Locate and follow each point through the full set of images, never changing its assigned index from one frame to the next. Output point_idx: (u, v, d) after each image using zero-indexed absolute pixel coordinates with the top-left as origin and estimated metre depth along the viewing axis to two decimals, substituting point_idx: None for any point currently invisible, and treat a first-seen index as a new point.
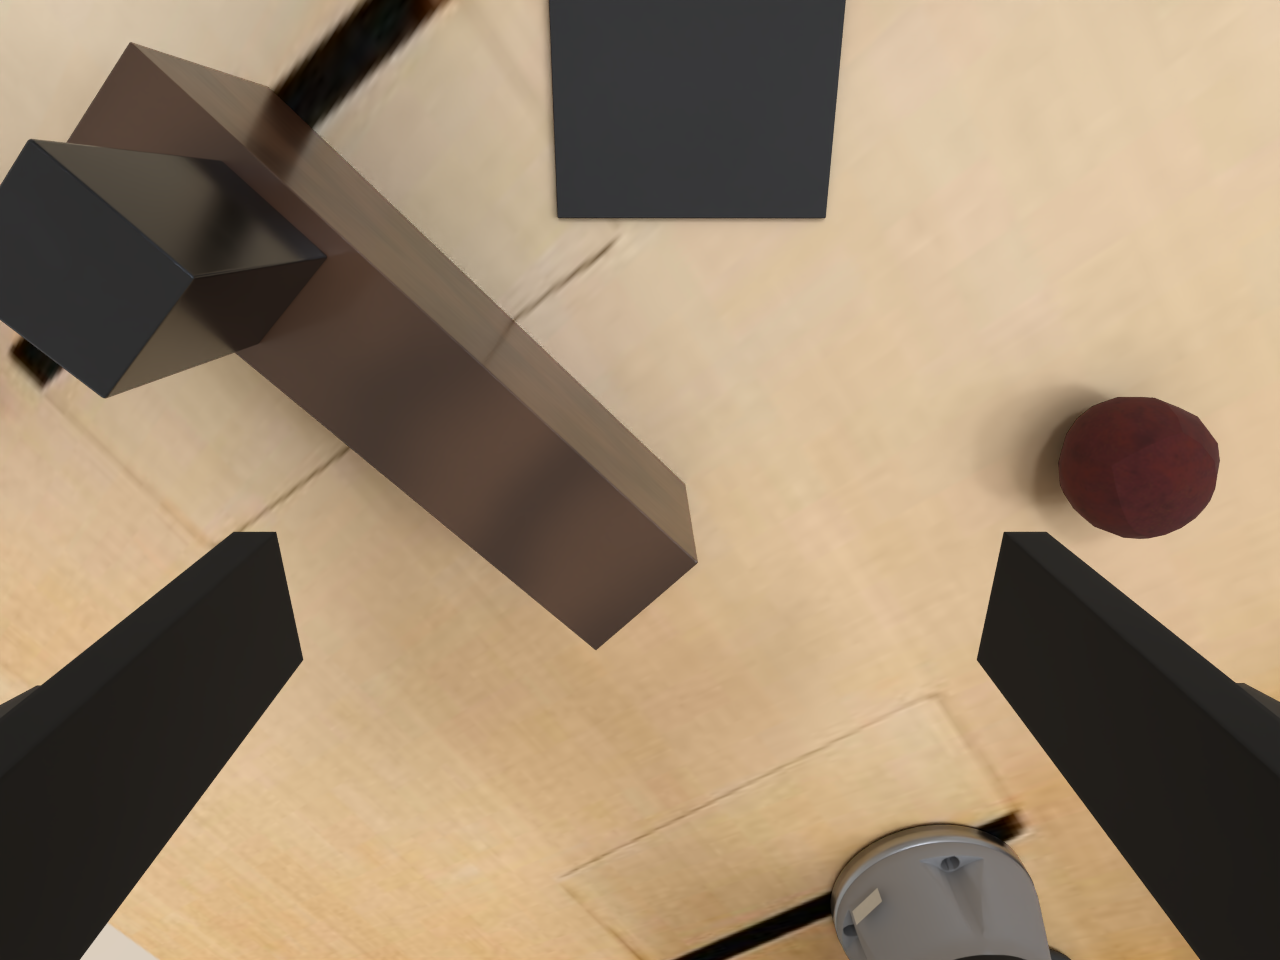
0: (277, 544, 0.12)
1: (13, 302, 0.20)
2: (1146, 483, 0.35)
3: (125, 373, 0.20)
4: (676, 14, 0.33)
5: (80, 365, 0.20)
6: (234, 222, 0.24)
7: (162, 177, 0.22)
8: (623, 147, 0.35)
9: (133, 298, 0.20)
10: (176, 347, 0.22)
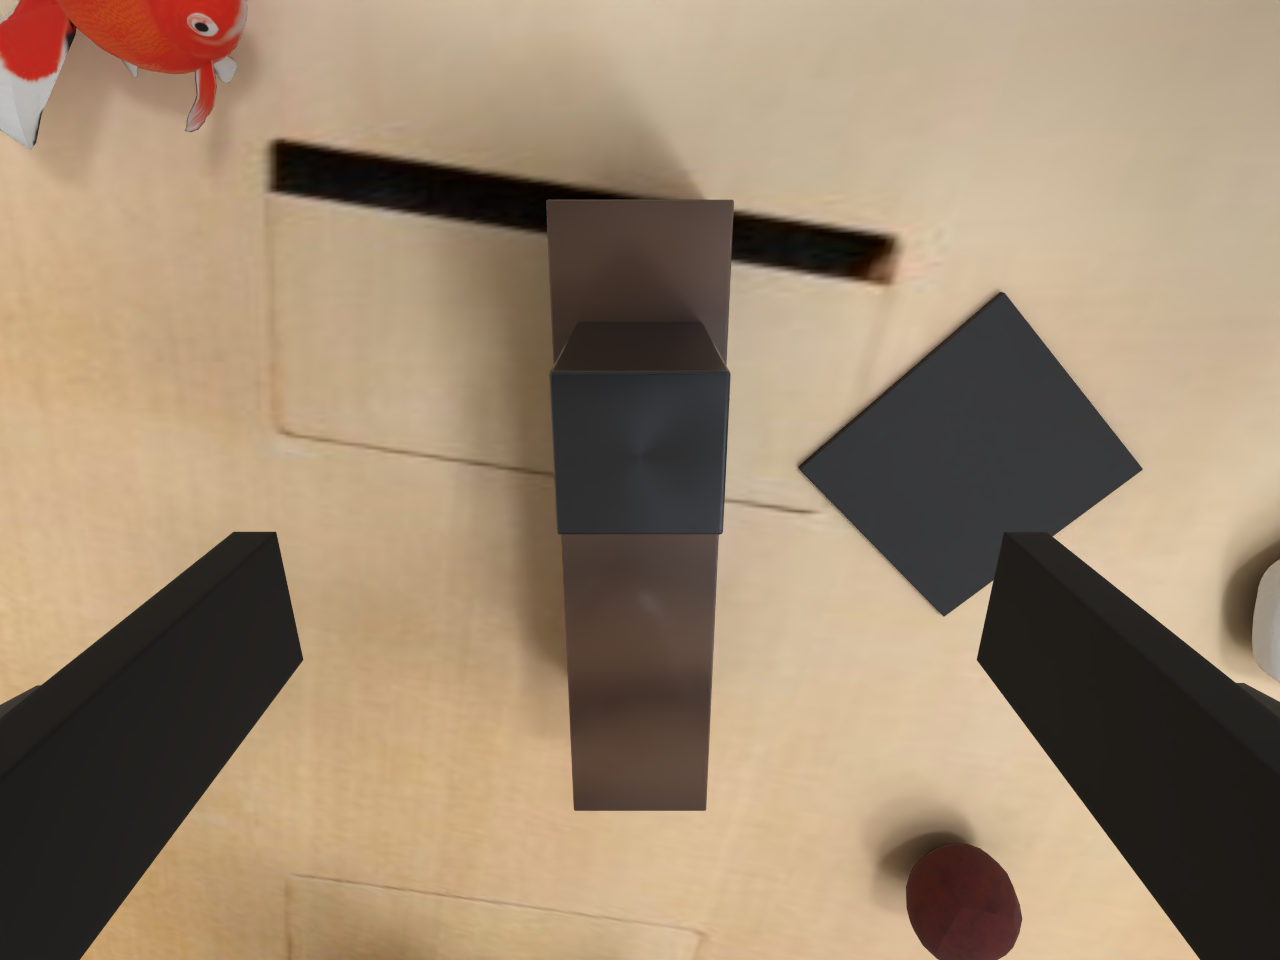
0: (277, 544, 0.12)
1: (579, 432, 0.20)
2: (971, 935, 0.45)
3: (593, 533, 0.21)
4: (991, 434, 0.39)
5: (571, 504, 0.21)
6: None
7: None
8: (883, 471, 0.40)
9: (666, 508, 0.21)
10: None
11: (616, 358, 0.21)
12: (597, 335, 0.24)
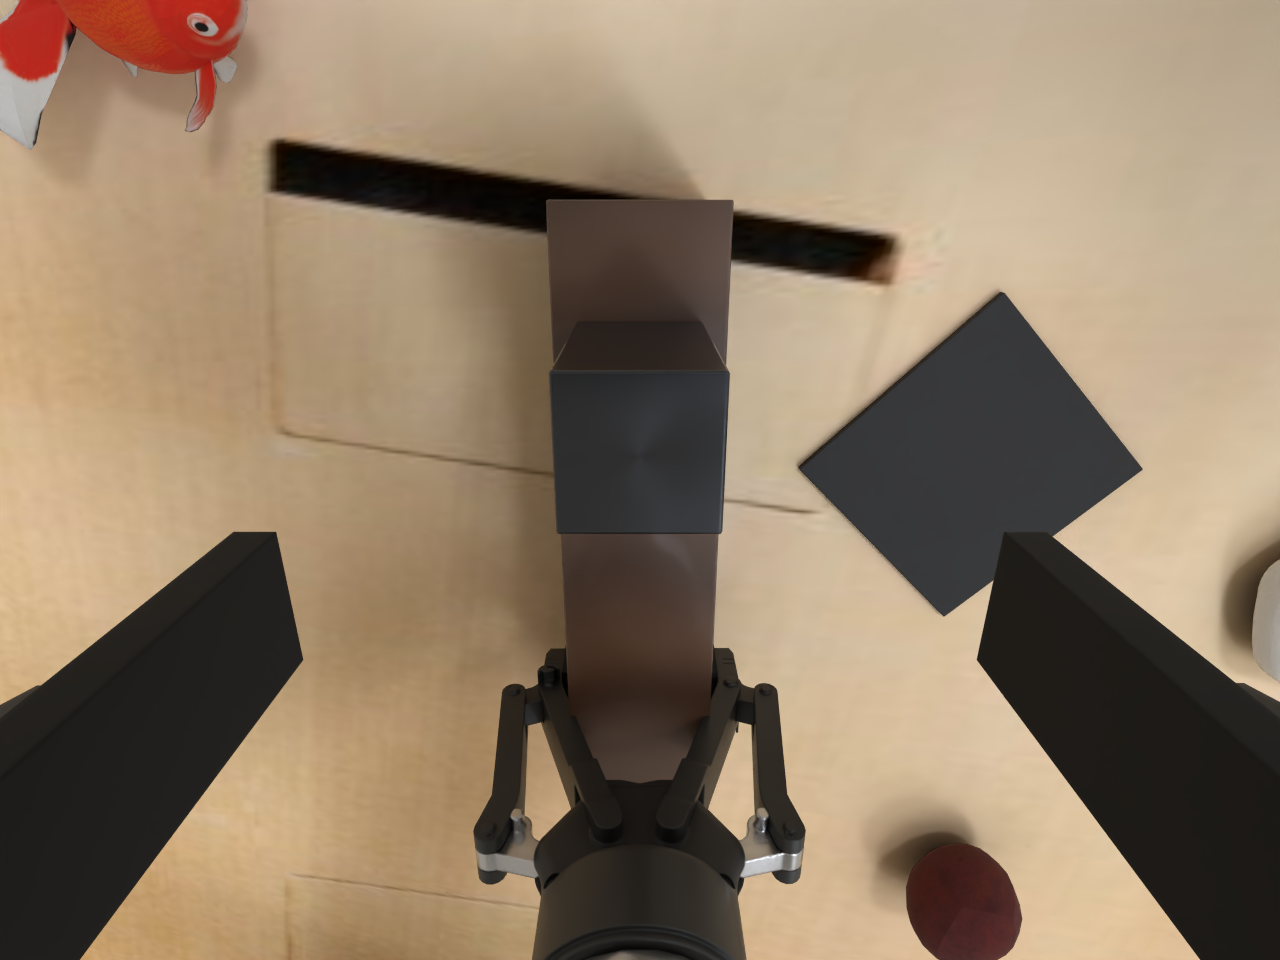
0: (277, 544, 0.12)
1: (578, 431, 0.20)
2: (971, 935, 0.45)
3: (593, 533, 0.21)
4: (991, 434, 0.39)
5: (570, 504, 0.21)
6: None
7: None
8: (883, 471, 0.40)
9: (666, 507, 0.21)
10: None
11: (616, 357, 0.21)
12: (597, 335, 0.25)
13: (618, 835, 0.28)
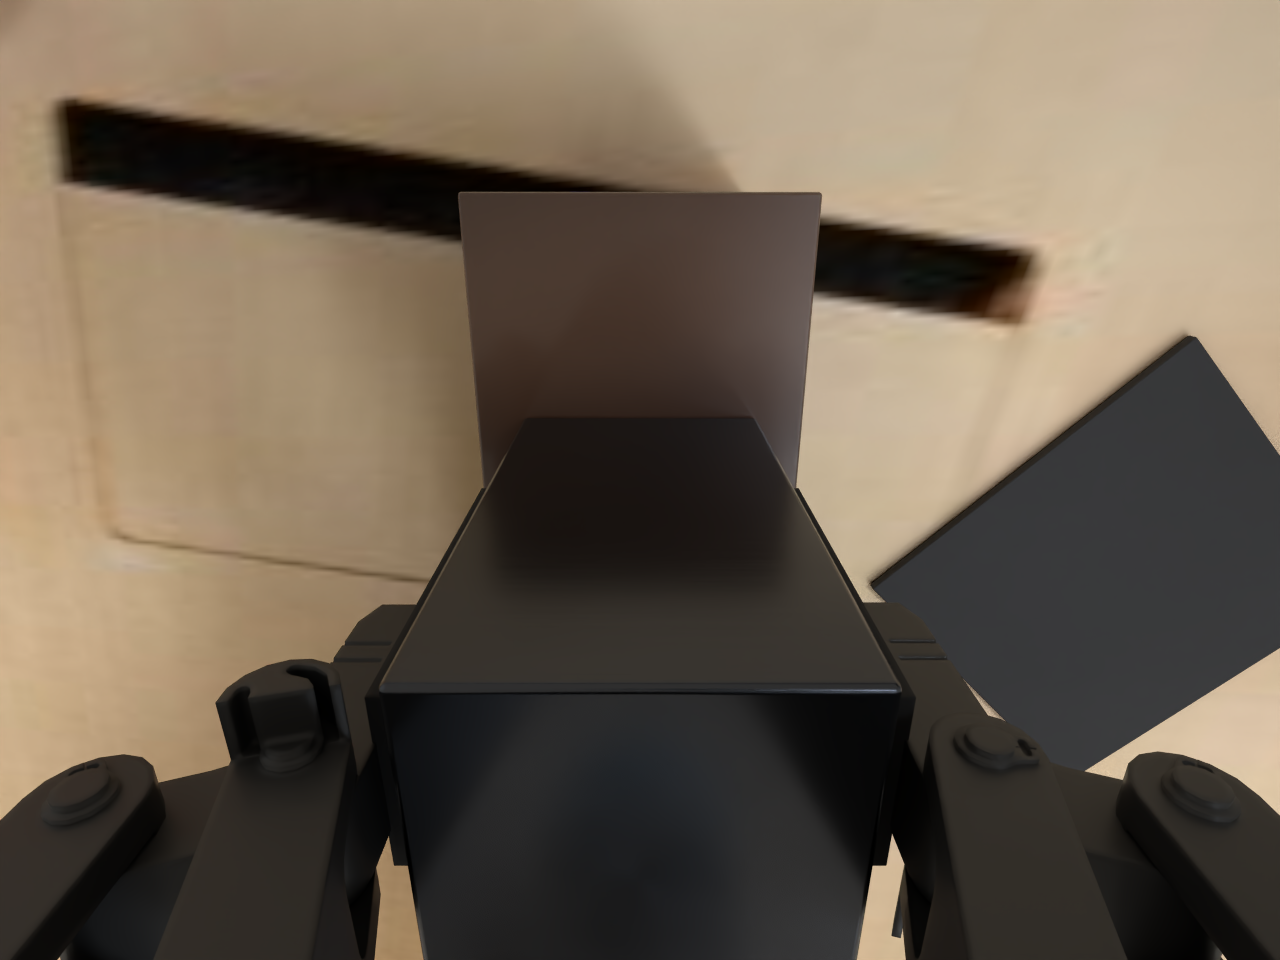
0: None
1: (472, 826, 0.07)
2: None
3: None
4: (1157, 540, 0.27)
5: None
6: None
7: None
8: (994, 591, 0.27)
9: None
10: None
11: (580, 589, 0.08)
12: (553, 468, 0.12)
13: None
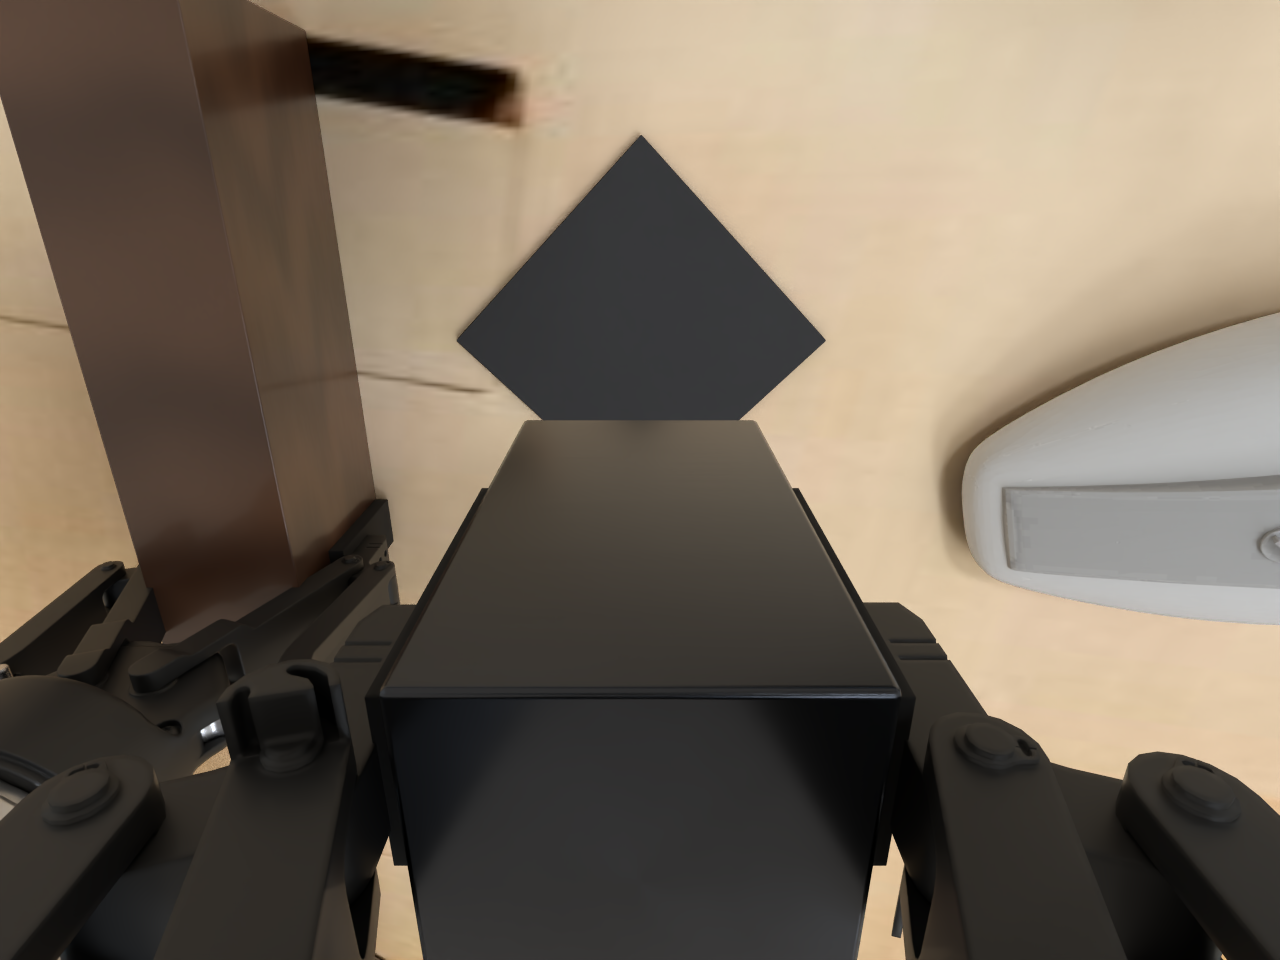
0: None
1: (472, 830, 0.07)
2: None
3: None
4: (655, 299, 0.36)
5: None
6: None
7: None
8: (546, 342, 0.37)
9: None
10: None
11: (580, 594, 0.08)
12: (553, 471, 0.12)
13: None
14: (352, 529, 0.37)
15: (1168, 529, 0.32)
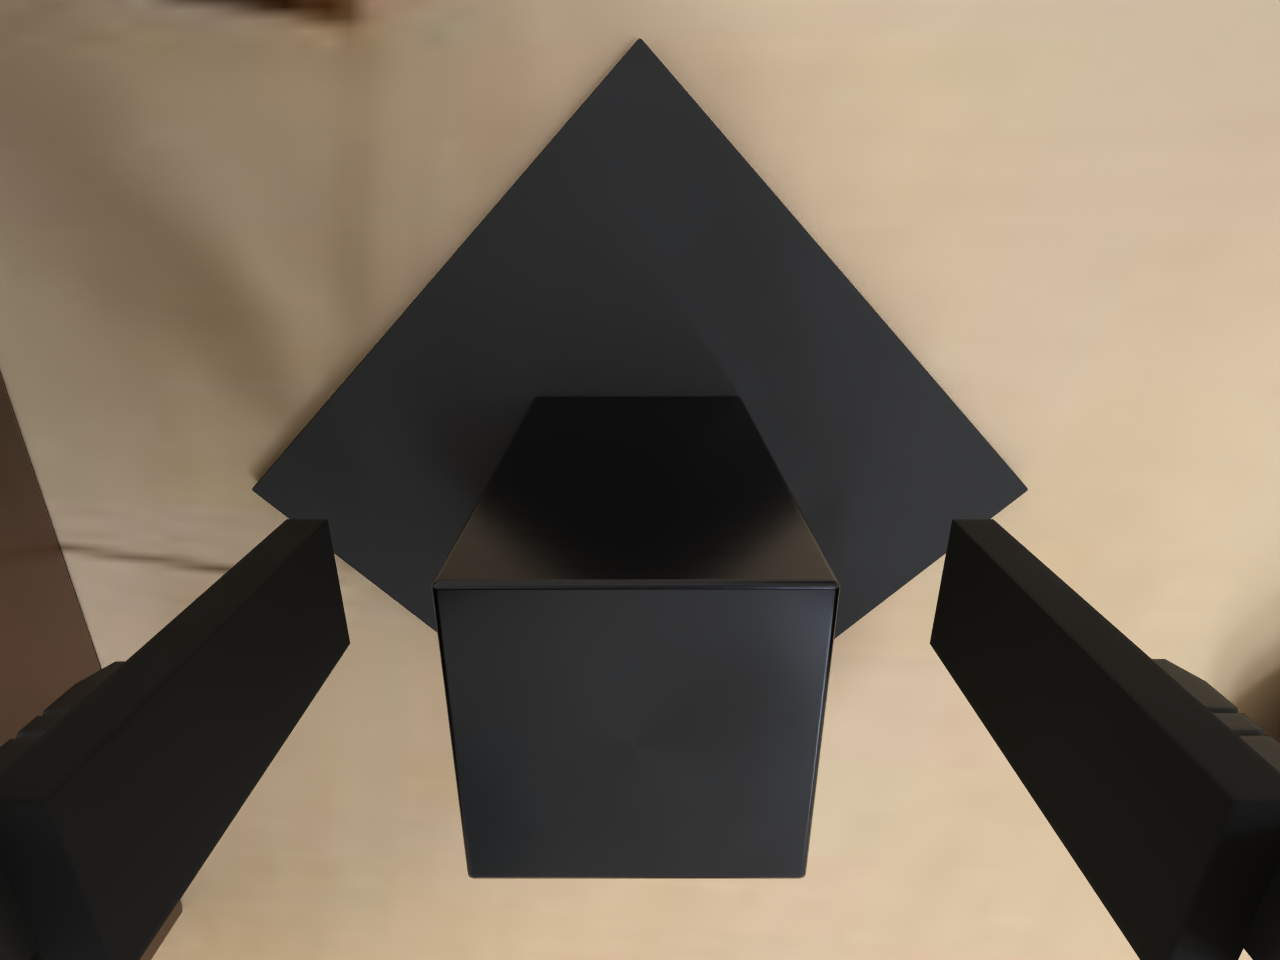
0: (328, 531, 0.13)
1: (503, 701, 0.09)
2: None
3: None
4: None
5: (493, 829, 0.10)
6: None
7: None
8: (441, 493, 0.18)
9: (692, 835, 0.10)
10: None
11: (587, 521, 0.10)
12: (562, 435, 0.14)
13: None
14: None
15: None
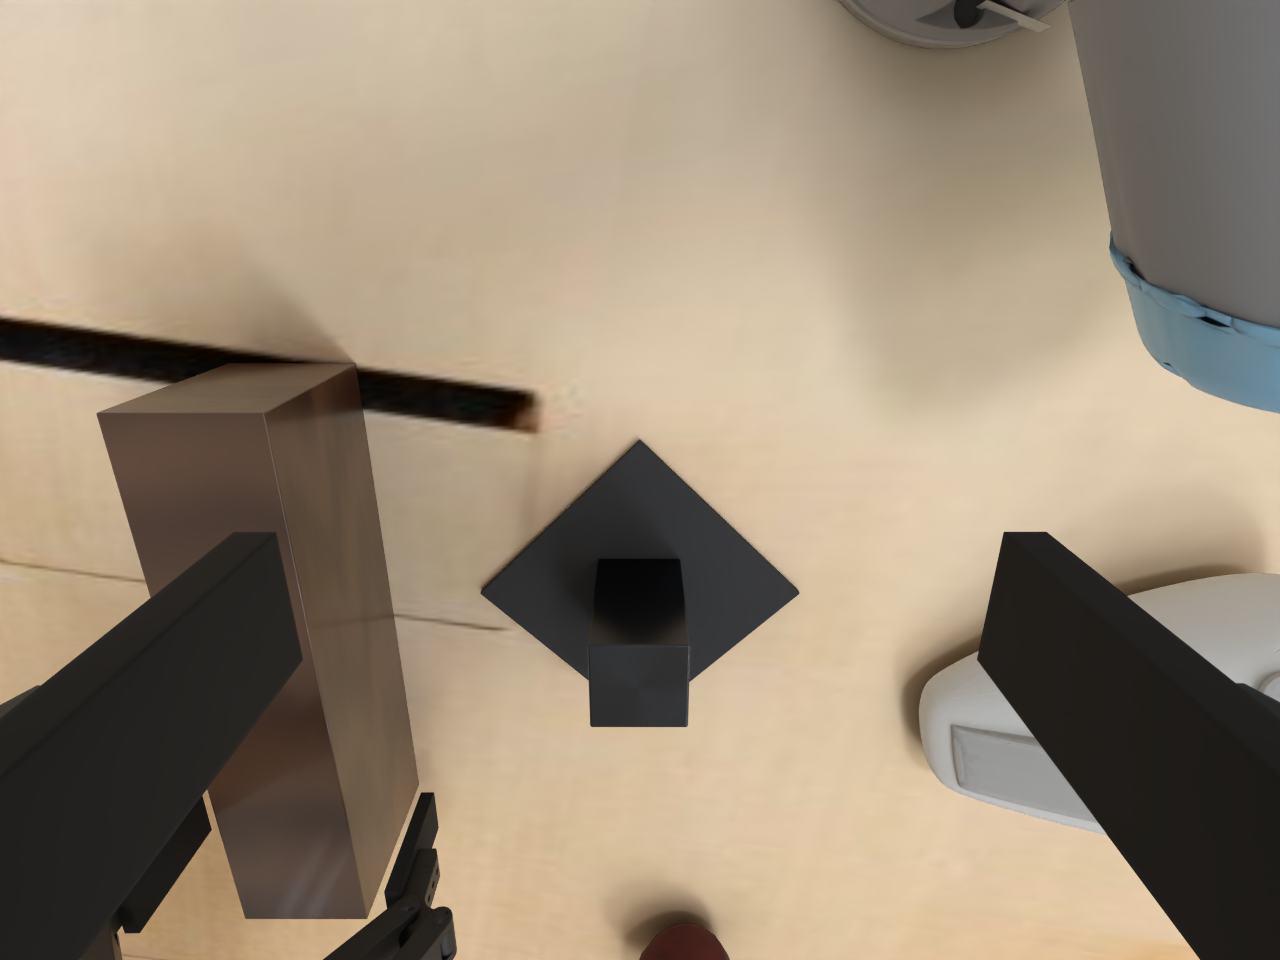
0: (277, 544, 0.12)
1: (604, 675, 0.34)
2: None
3: (611, 726, 0.36)
4: None
5: (598, 711, 0.35)
6: None
7: None
8: (558, 595, 0.43)
9: (654, 713, 0.35)
10: None
11: (625, 624, 0.35)
12: (612, 584, 0.39)
13: None
14: (404, 849, 0.37)
15: None
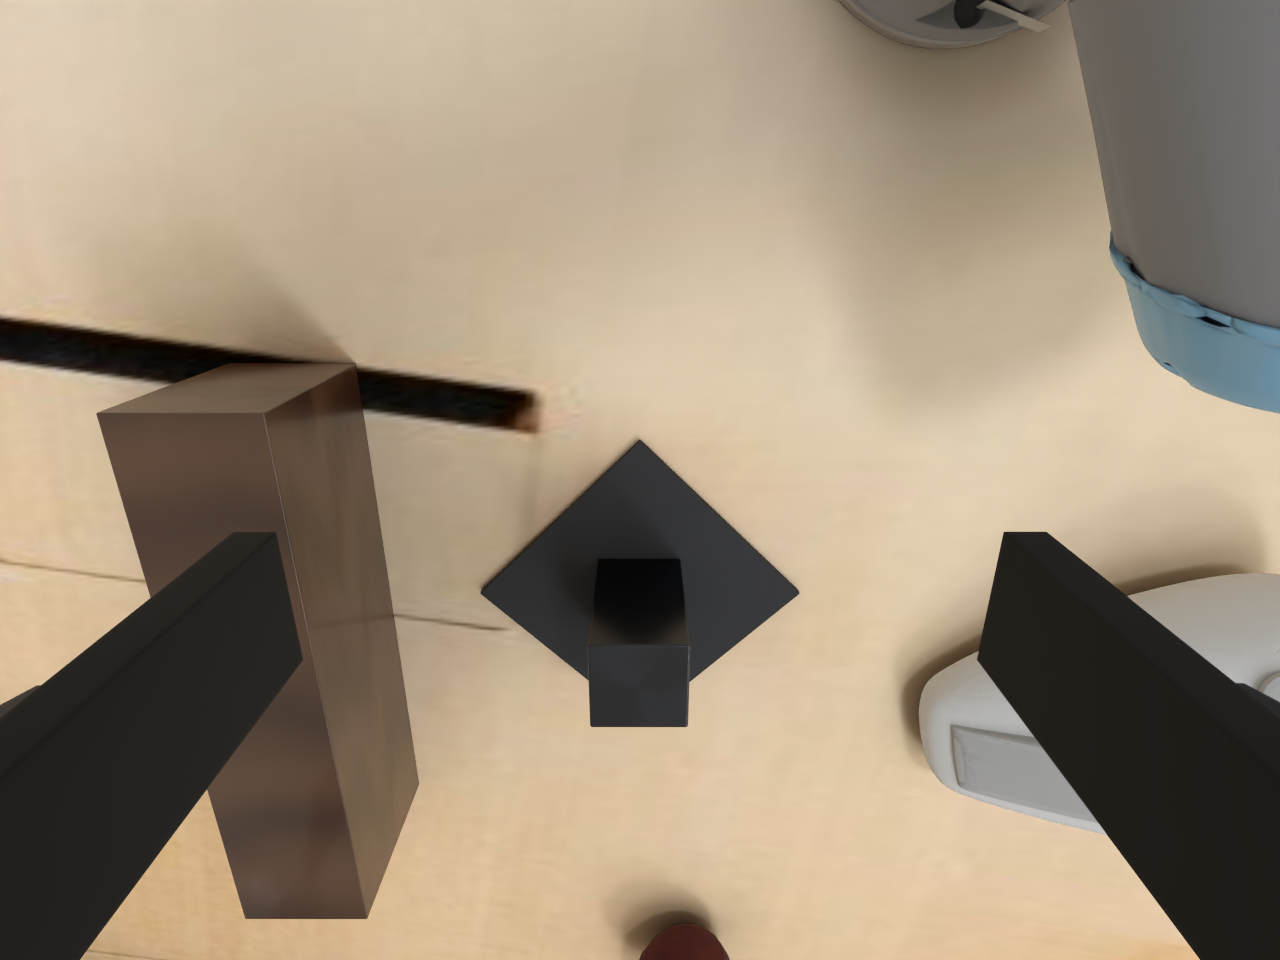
0: (277, 544, 0.12)
1: (604, 675, 0.34)
2: None
3: (611, 726, 0.36)
4: None
5: (598, 711, 0.35)
6: None
7: None
8: (558, 595, 0.43)
9: (654, 713, 0.35)
10: None
11: (625, 624, 0.35)
12: (612, 584, 0.39)
13: None
14: None
15: None
